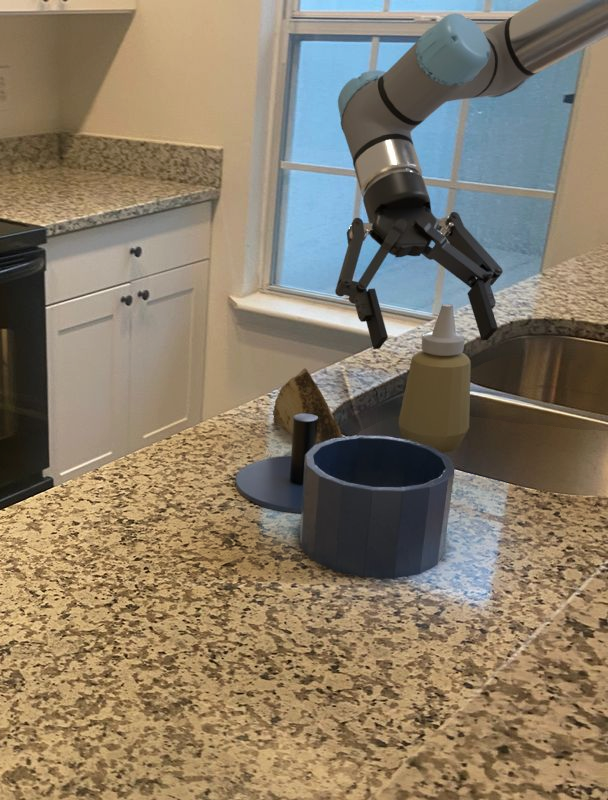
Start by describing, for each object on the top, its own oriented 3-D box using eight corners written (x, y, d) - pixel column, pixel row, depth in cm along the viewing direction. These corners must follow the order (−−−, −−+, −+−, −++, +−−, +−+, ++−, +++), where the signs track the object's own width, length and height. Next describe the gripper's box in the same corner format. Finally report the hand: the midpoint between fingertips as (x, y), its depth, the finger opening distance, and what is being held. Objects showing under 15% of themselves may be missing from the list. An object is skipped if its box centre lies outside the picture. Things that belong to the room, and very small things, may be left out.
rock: (251, 406, 134) (256, 422, 124) (293, 353, 131) (302, 366, 122) (316, 455, 135) (326, 475, 125) (359, 403, 132) (373, 420, 123)
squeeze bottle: (393, 462, 121) (409, 312, 114) (396, 438, 128) (411, 295, 121) (465, 468, 119) (486, 316, 111) (464, 443, 126) (484, 298, 118)
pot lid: (360, 466, 120) (367, 396, 117) (375, 520, 107) (382, 443, 104) (235, 463, 122) (237, 394, 119) (235, 516, 109) (237, 440, 106)
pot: (429, 521, 107) (439, 436, 103) (453, 586, 95) (466, 492, 91) (296, 518, 109) (301, 434, 104) (303, 580, 96) (309, 488, 92)
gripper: (473, 201, 132) (519, 346, 125) (287, 212, 128) (324, 362, 121) (500, 162, 125) (550, 314, 118) (304, 173, 121) (344, 330, 114)
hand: (435, 339), depth 120 cm, fingers open, 13 cm apart
